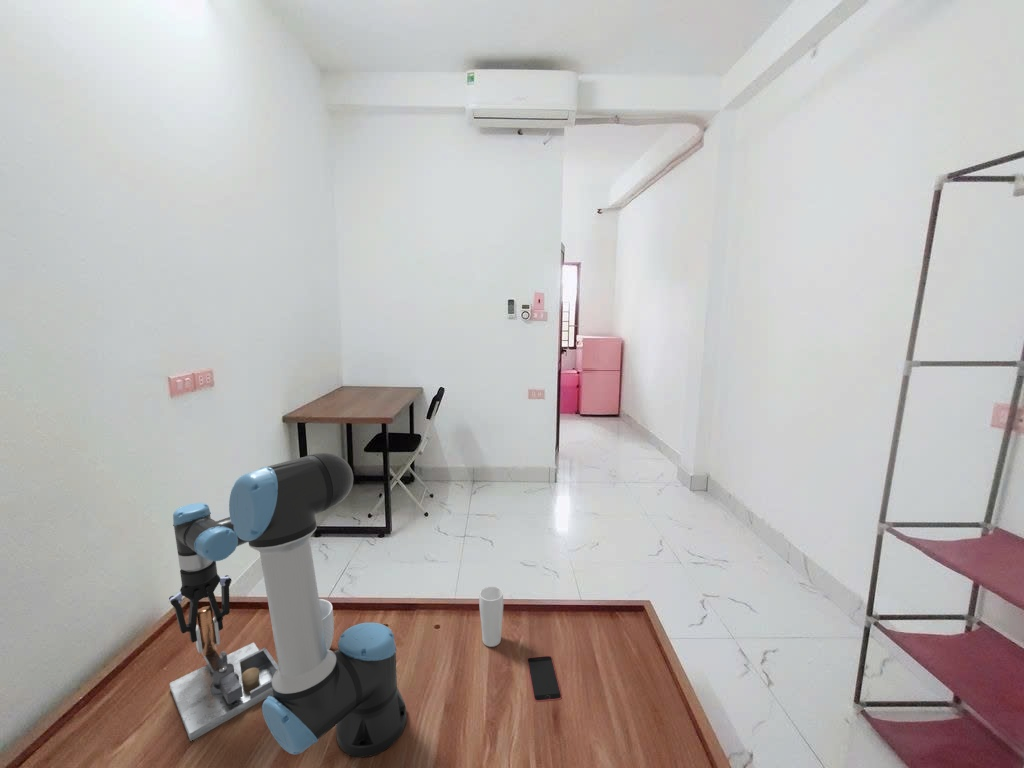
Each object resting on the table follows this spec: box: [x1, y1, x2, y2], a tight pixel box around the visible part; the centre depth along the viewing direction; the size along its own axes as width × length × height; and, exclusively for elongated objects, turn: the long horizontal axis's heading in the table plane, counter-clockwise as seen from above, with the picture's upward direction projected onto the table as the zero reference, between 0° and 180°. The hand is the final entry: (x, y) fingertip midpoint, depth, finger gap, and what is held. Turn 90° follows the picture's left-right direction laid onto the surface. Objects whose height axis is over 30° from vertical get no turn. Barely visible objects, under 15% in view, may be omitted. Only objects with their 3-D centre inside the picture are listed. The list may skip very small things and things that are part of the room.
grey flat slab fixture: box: [169, 642, 279, 742], centre depth 111 cm, size 20×19×6 cm
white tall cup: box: [478, 585, 504, 648], centre depth 127 cm, size 7×7×15 cm
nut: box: [242, 668, 260, 691], centre depth 110 cm, size 4×4×3 cm
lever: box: [197, 605, 243, 705], centre depth 111 cm, size 22×4×14 cm, turn 48°
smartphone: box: [526, 655, 563, 703], centre depth 115 cm, size 7×1×14 cm
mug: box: [319, 598, 335, 650], centre depth 120 cm, size 15×11×13 cm
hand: (208, 645), depth 118 cm, fingers closed on lever, 3 cm apart
